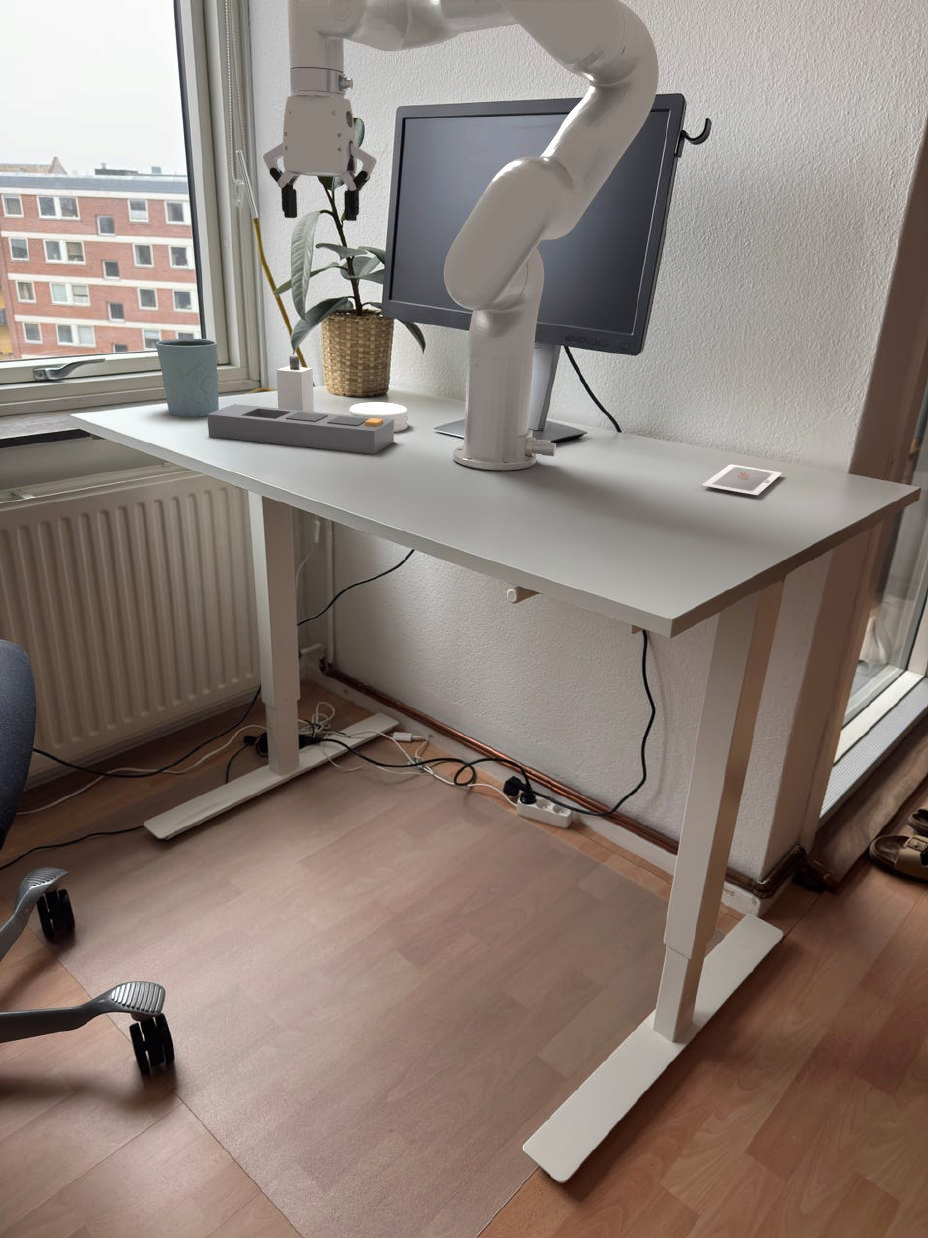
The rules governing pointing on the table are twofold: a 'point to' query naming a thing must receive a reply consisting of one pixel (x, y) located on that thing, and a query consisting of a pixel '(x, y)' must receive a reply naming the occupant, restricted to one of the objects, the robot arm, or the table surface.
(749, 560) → the table surface
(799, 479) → the table surface
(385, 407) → the coaster
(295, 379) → the charger
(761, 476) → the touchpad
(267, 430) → the power strip
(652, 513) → the table surface
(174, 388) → the blue-grey tapered cup
